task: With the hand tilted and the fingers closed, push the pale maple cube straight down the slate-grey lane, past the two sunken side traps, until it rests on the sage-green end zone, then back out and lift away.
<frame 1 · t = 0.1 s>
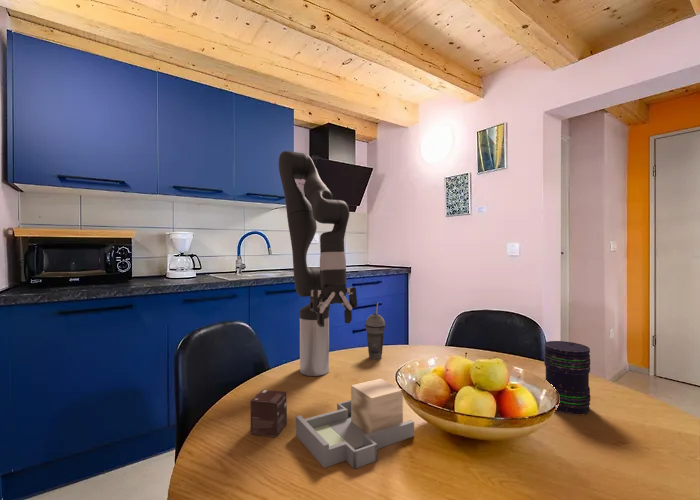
hand: (334, 324, 102), 17 cm above the table, tool pointing down, fingers open, 8 cm apart
black striped cylinder: (566, 406, 89), on the table
beverage cup: (375, 357, 129), on the table
box: (269, 430, 78), on the table
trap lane: (357, 435, 75), on the table
maple cube: (376, 424, 78), point 1 cm above the table, touching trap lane
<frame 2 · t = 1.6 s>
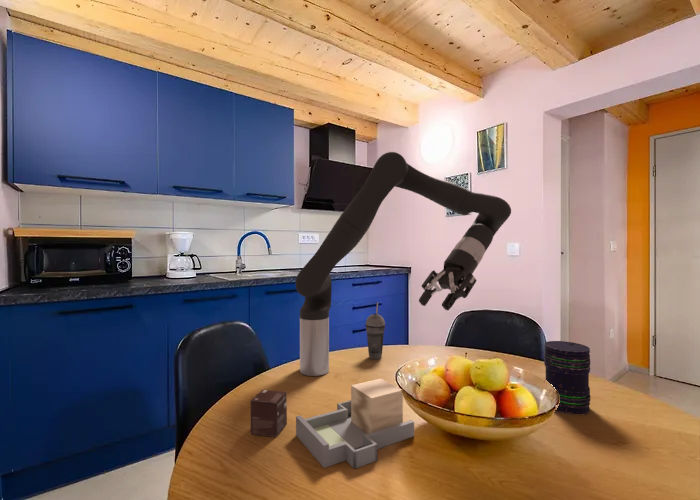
hand: (432, 305, 89), 25 cm above the table, tool tilted 45°, fingers open, 7 cm apart
nothing on the table moved.
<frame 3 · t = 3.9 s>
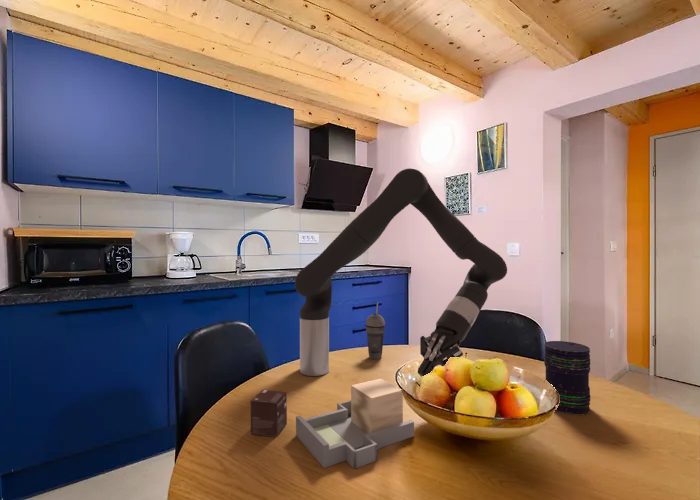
hand: (421, 375, 84), 9 cm above the table, tool tilted 45°, fingers closed
nothing on the table moved.
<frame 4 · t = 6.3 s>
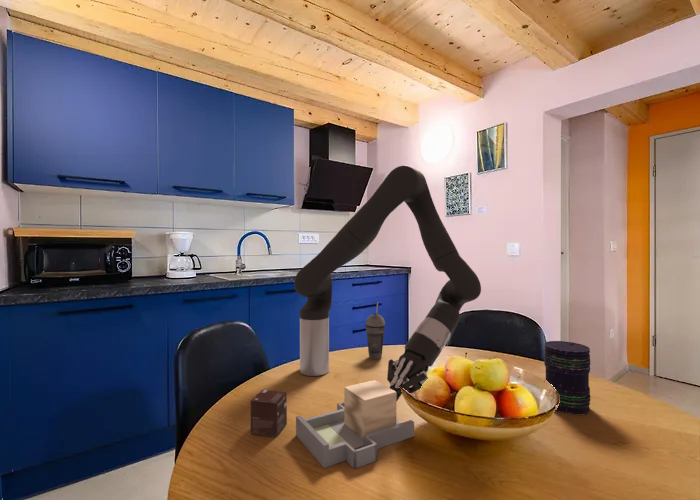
hand: (386, 404, 79), 5 cm above the table, tool tilted 45°, fingers closed
maple cube: (369, 426, 77), point 1 cm above the table
everything else where it was.
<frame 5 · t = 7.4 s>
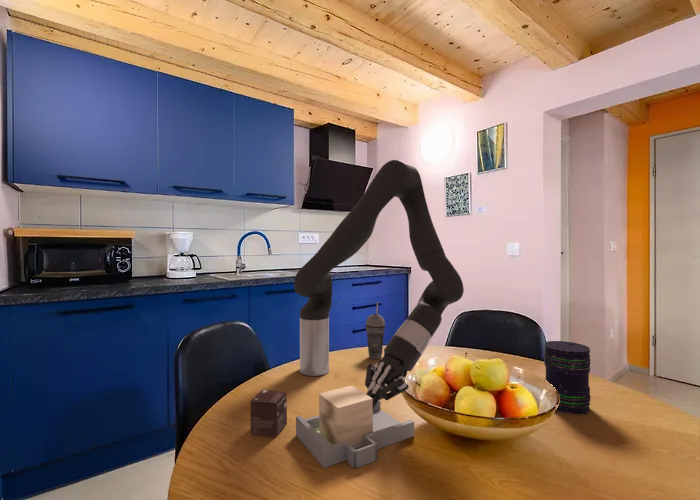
hand: (363, 410, 76), 5 cm above the table, tool tilted 45°, fingers closed
maple cube: (345, 434, 73), point 1 cm above the table, touching gripper
everything else where it was.
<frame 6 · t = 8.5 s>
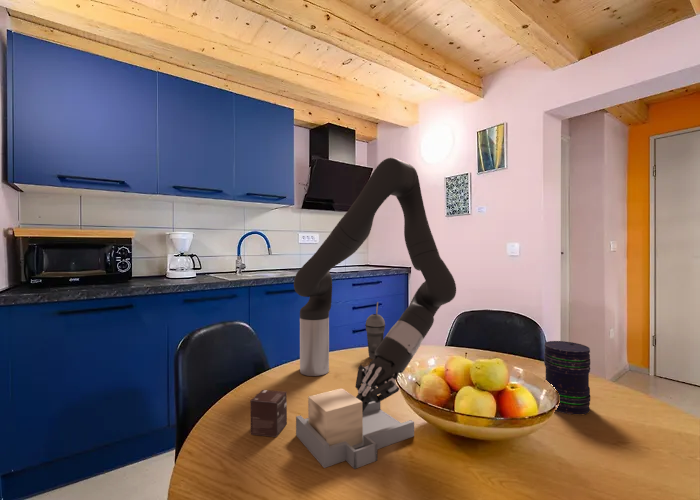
hand: (353, 413, 75), 5 cm above the table, tool tilted 45°, fingers closed
maple cube: (335, 438, 72), point 1 cm above the table, touching gripper, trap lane
everything else where it was.
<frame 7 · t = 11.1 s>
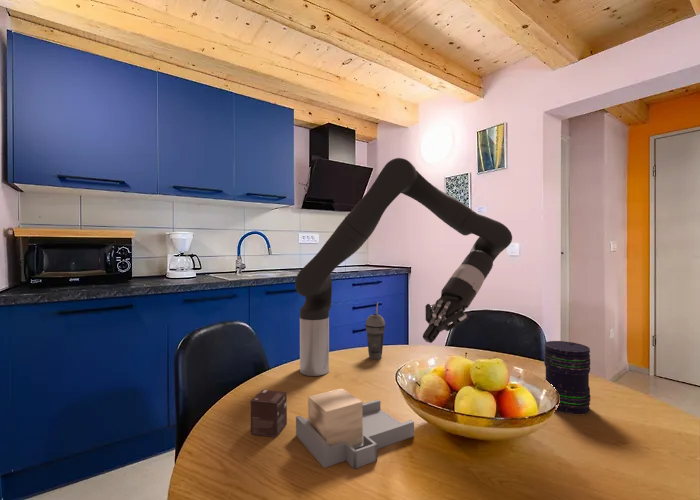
hand: (426, 340, 85), 17 cm above the table, tool tilted 45°, fingers closed
maple cube: (335, 438, 72), point 1 cm above the table, touching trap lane
everything else where it was.
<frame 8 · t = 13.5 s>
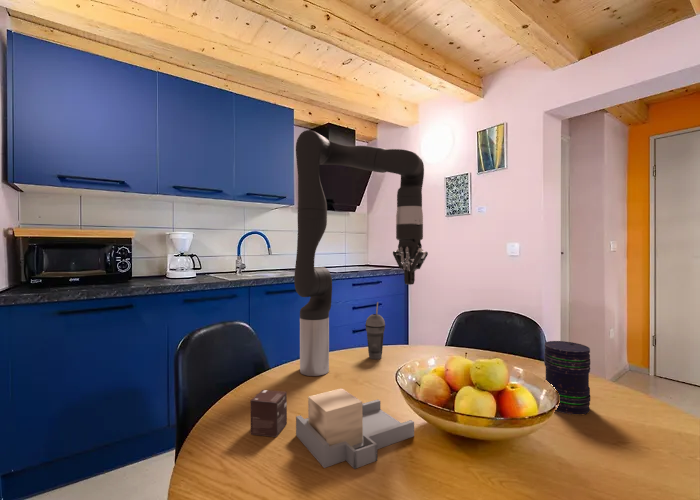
hand: (409, 284, 102), 29 cm above the table, tool pointing down, fingers closed
nothing on the table moved.
at the end: maple cube 0.7 cm from the target spot on the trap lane, point 1.0 cm above the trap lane's base; maple cube tilted 1°; maple cube touching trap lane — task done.
